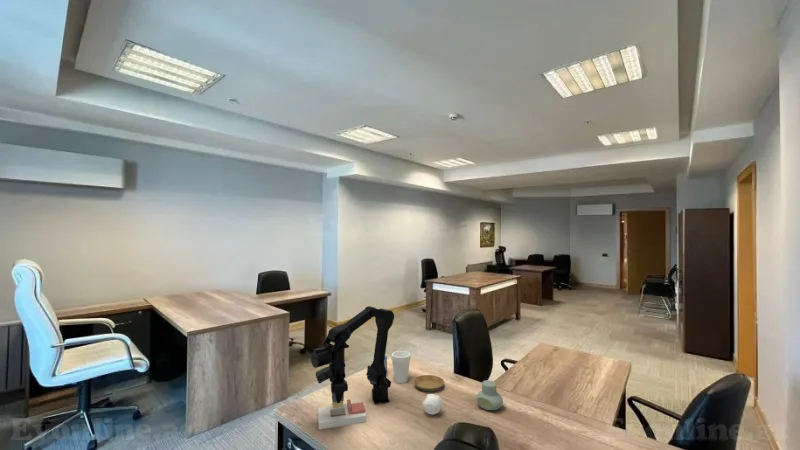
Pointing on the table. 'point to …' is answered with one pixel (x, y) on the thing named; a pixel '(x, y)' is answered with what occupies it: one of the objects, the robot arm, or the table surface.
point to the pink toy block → (355, 407)
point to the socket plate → (338, 417)
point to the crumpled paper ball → (432, 404)
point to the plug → (334, 401)
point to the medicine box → (385, 362)
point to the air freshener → (489, 396)
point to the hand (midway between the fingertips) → (337, 399)
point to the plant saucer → (428, 383)
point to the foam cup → (400, 365)
